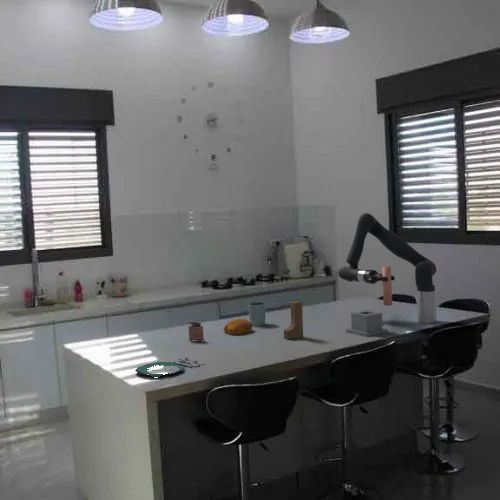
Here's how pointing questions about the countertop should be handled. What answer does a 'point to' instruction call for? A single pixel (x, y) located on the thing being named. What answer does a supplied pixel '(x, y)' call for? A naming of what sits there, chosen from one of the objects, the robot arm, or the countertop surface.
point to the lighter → (195, 331)
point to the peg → (387, 286)
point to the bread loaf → (238, 326)
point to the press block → (366, 323)
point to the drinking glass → (257, 313)
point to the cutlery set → (143, 369)
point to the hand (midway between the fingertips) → (390, 278)
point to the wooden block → (295, 321)
